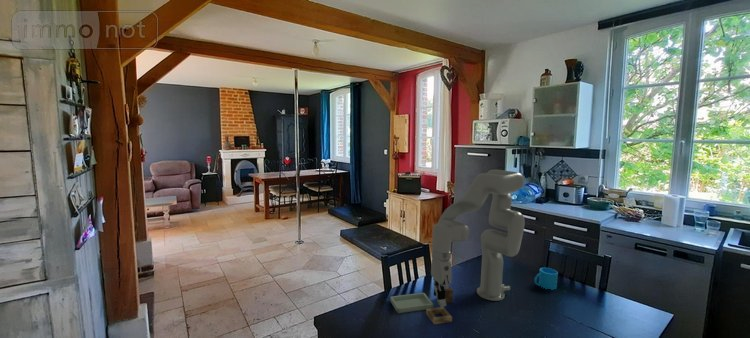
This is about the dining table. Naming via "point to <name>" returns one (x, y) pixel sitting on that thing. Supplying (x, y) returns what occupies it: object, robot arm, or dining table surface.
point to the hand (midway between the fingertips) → (439, 296)
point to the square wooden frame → (438, 320)
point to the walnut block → (449, 295)
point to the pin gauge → (440, 302)
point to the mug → (547, 278)
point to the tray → (411, 302)
